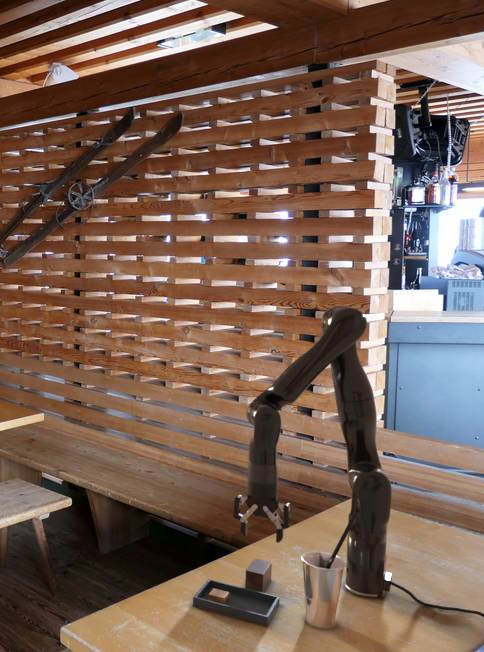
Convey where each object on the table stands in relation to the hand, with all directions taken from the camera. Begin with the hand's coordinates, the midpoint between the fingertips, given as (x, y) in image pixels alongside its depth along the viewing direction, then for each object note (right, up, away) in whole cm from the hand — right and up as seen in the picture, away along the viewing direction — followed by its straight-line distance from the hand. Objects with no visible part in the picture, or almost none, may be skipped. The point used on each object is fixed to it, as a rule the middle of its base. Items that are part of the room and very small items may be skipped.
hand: (261, 538), depth 195 cm
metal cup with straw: (+9, -15, -18) cm, 25 cm away
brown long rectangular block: (0, -13, +1) cm, 13 cm away
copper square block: (-13, -13, -7) cm, 20 cm away
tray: (-10, -14, -10) cm, 19 cm away
